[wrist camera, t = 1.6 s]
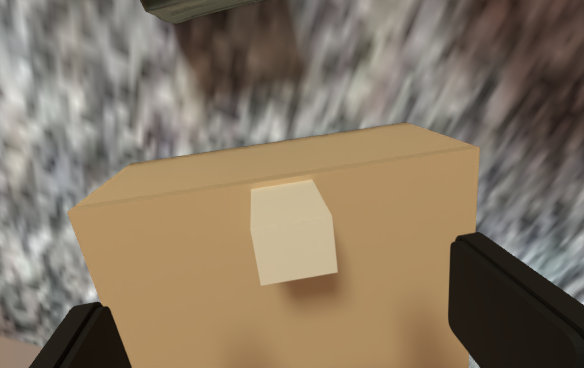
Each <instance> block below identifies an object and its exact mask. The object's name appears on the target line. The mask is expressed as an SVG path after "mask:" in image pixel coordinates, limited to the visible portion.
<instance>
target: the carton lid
mask: <svg viewBox="0 0 584 368" xmlns="http://www.w3.org/2000/svg"><path fill="white" fill-rule="evenodd" d="M479 152H480V148H479V147H476V146H473V145H470V146H464V147H457V148H451V149H445V150H438V151H432V152H425V153H419V154H412V155H406V156H399V157H393V158H387V159H380V160H374V161H367V162H361V163H354V164H348V165H342V166H335V167H329V168H322V169H316V170H309V171H303V172H296V173H290V174H284V175H277V176H271V177H264V178H258V179H251V180H245V181H239V182H232V183H226V184H219V185H213V186H206V187H200V188H193V189H187V190H181V191H174V192H168V193H161V194H155V195H148V196H142V197H136V198H129V199H123V200H116V201H110V202H103V203H97V204H90V205H84V206H78V207H73V208H72V209H70V210H69V211H68V212H67V213H68V216H69V218H70V221H71V224H72V226H73V229H74V232H75V235H76V237H77V240H78V243H79V245H80V248H81V251H82V253H83V256H84V259H85V261H86V264H87V267H88V269H89V272H90V275H91V277H92V280H93V283H94V285H95V288H96V291H97V293H98V296H99V299H100V301H101V304H102V305H103V306H108V307H109V308H110V310H111V313H112V315H113V318H114V321H115V323H116V326H117V329H118V331H119V334H120V337H121V339H122V342H123V345H124V347H125V350H126V353H127V355H128V358H129V361H130V363H131V366H132V368H468V364H469V353H468V351H467V350H466V349H465V348H464V346H463V345H462V344H461V342H460V341H459V340H458V339H457V337H456V336H455V335H454V333H453V332H452V330H451V328H450V326H449V323H448V298H449V267H450V245H451V243H452V242H455V239H456V237H457V236H458V235H464V234H469V233H475V229H476V210H477V191H478V172H479Z"/></svg>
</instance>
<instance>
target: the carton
mask: <svg viewBox="0 0 584 368" xmlns="http://www.w3.org/2000/svg"><path fill="white" fill-rule="evenodd" d="M470 145H471V144H468V143H465V142H462V141H459V140H456V139H453V138H450V137H447V136H444V135H442V134H439V133H436V132H433V131H430V130H427V129H424V128H421V127H418V126H415V125H412V124H410V123H407V122H405V123H398V124H392V125H385V126H378V127H372V128H365V129H358V130H352V131H345V132H338V133H331V134H325V135H318V136H311V137H305V138H298V139H291V140H285V141H278V142H271V143H265V144H258V145H251V146H244V147H238V148H231V149H224V150H218V151H211V152H204V153H198V154H191V155H184V156H177V157H171V158H164V159H157V160H151V161H144V162H137V163H131V164H129V165H128V166H126V167H125V168H124V169H123V170H121V171H120V172H119V173H117V174H116V175H115V176H113V177H112V178H111V179H110V180H108V181H107V182H106V183H104V184H103V185H102V186H100V187H99V188H98V189H96V190H95V191H94V192H93V193H91V194H90V195H89V196H87V197H86V198H85V199H83V200H82V201H81V202H80V203H78V204H77V205H76V206H75V207H78V206H84V205H90V204H97V203H103V202H110V201H116V200H123V199H129V198H136V197H142V196H148V195H155V194H161V193H168V192H174V191H181V190H187V189H193V188H200V187H206V186H213V185H219V184H226V183H232V182H239V181H245V180H251V179H258V178H264V177H271V176H277V175H284V174H290V173H296V172H303V171H309V170H316V169H322V168H329V167H335V166H342V165H348V164H354V163H361V162H367V161H374V160H380V159H387V158H393V157H399V156H406V155H412V154H419V153H425V152H432V151H438V150H445V149H451V148H457V147H464V146H470Z"/></svg>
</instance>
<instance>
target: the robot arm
mask: <svg viewBox="0 0 584 368" xmlns="http://www.w3.org/2000/svg"><path fill="white" fill-rule="evenodd" d="M448 323H449V326H450V328H451V330H452V332H453V333H454V335H455V336H456V337H457V339H458V340H459V341H460V342H461V344H462V345H463V346H464V348H465V349H466V350H467V351H468V353H469V354H470V355H471V356H472V358H473V359H474V360H475V362H476V363H477V364H478V365H479V367H480V368H584V305H583V304H581V303H580V302H579V301H577V300H576V299H574V298H573V297H571V296H570V295H569V294H567V293H566V292H564V291H563V290H561V289H560V288H559V287H557V286H556V285H554V284H553V283H552V282H550V281H549V280H547V279H546V278H544V277H543V276H542V275H540V274H539V273H537V272H536V271H534V270H533V269H532V268H530V267H529V266H527V265H526V264H525V263H523V262H522V261H520V260H519V259H517V258H516V257H515V256H513V255H512V254H510V253H509V252H507V251H506V250H505V249H503V248H502V247H500V246H499V245H498V244H496V243H495V242H493V241H492V240H490V239H489V238H488V237H486V236H485V235H483V234H482V233H480V232H475V233H469V234H464V235H458V236H457V237H456V239H455V242H452V243H451V245H450V267H449V298H448ZM29 368H132V366H131V363H130V361H129V358H128V355H127V353H126V350H125V347H124V345H123V342H122V339H121V337H120V334H119V331H118V329H117V326H116V323H115V321H114V318H113V315H112V313H111V310H110V308H109V307H108V306H103V305H102V304H101V303H100V302H94V303H88V304H83V305H77V306H74V307H73V308H72V309H71V310H70V311H69V312H68V314H67V315H66V317H65V318H64V319H63V321H62V322H61V324H60V325H59V326H58V328H57V329H56V330H55V332H54V333H53V335H52V336H51V337H50V339H49V340H48V342H47V343H46V344H45V346H44V347H43V349H42V350H41V351H40V353H39V354H38V356H37V357H36V358H35V360H34V361H33V363H32V364H31V365H30V367H29Z"/></svg>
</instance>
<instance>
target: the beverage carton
mask: <svg viewBox="0 0 584 368" xmlns="http://www.w3.org/2000/svg"><path fill="white" fill-rule="evenodd" d="M140 1H141V3H142V5H143V7H144V9H145V11H146V12H148V13H150V14H152V15H156V16H157V17H158V18H159V19H161V20H163V21H165V22H169V23H170V22H172V23H174V24H177V23H181V22H184V21H187V20H190V19H193V18H197V17H200V16H203V15H207V14H211V13H215V12H219V11H223V10H227V9H231V8H235V7H238V6H242V5H246V4H250V3H254V2H258V1H264V0H140Z"/></svg>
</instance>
